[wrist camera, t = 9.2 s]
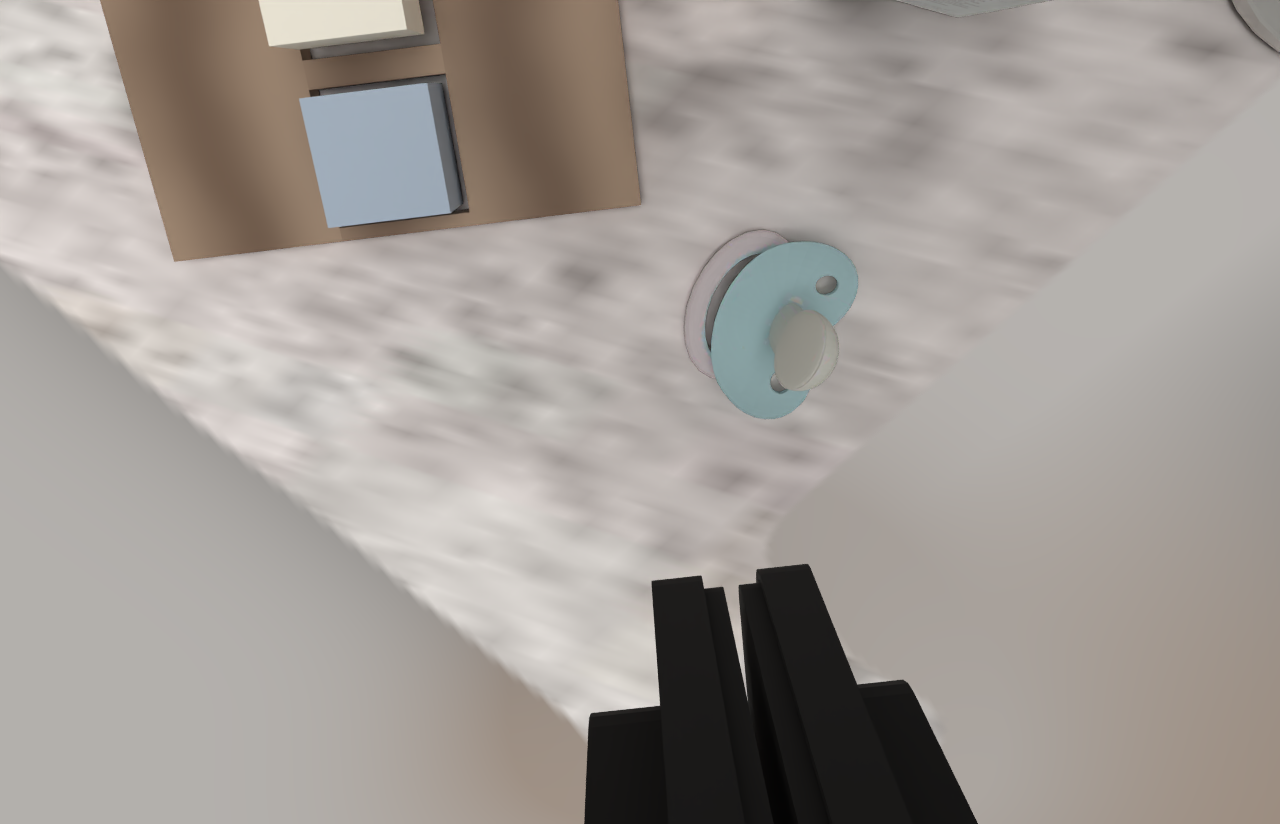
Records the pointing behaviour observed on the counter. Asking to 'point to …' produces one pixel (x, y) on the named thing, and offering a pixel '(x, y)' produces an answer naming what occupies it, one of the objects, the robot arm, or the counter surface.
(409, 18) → the cream cube
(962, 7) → the small box
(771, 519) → the counter surface
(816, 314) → the pacifier
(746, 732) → the robot arm
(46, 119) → the counter surface
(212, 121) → the walnut board
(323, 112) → the blue cube
